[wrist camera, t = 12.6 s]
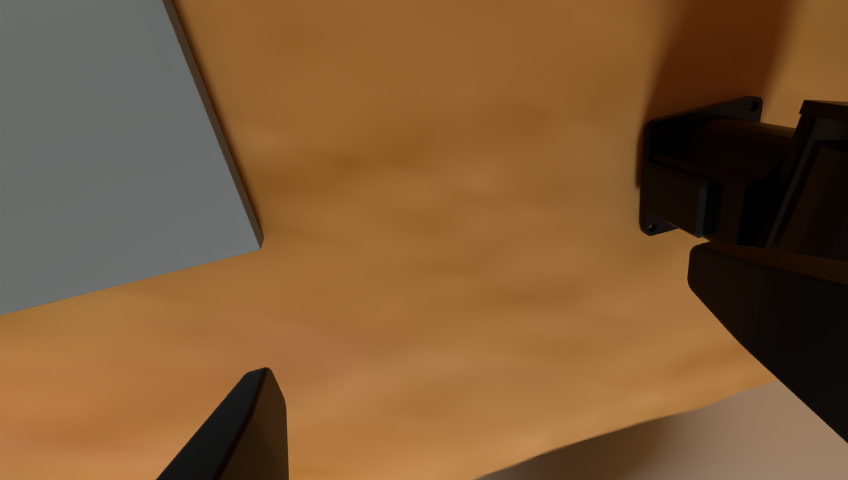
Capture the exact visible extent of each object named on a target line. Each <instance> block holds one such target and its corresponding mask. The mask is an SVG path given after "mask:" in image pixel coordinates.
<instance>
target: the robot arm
mask: <svg viewBox="0 0 848 480" xmlns="http://www.w3.org/2000/svg"><path fill="white" fill-rule="evenodd" d="M751 104H752V106H751ZM750 106H751V108H750ZM762 106H763V101H762V99H761V98H760V97H755V96H748V97H744V98H740V99H735V100H731V101H727V102H723V103H719V104H715V105H711V106H707V107H703V108H698V109H694V110H690V111H686V112H682V113H678V114H674V115H670V116H666V117H661V118H657V119H653V120H651V121H650V122H649V123H648V124H647V125H646V127H645V131H644V154H643V167H642V190H641V223H640V228H641V231H642V232H643V233H645V234H647V235H649V236H653V235H656V234H660V233H664V232H667V231H671V230H675V229H678V228H679V229H681V230H683V231H685V232H687V233H689V234H691V235H693V236H695V237H697V238H701V237H703V238H705V239H707V240H709V241H710V242H706V243H702V244H699V245H696V246H694V247H693V248H692V249H691V251H690V256H689V266H688V276H687V280H688V284H689V287H690V288H691V290H692V291H693V292H694V293H695V295H696V296H697V297H698V298H699V299H700V300H701V301H702V302H703V303H704V304H705V306H706V307H707V308H708V309H709V310H710V311H711V312H712V313H713V314H714V316H715V317H716V318H717V319H718V320H719V321H720V322H721V323H722V324H723V326H724V327H725V328H726V329H727V330H728V331H729V332H730V333H731V334H732V336H733V337H734V338H735V339H736V340H737V341H738V342H739V343H740V344H741V345H742V346H743V347H744V348H745V349H746V350H747V351H748V352H749V353H750V354H751V355H753V356H754V357H755V358H756V359H757V360H758V361H759V362H760V363H761V364H762V365H763V366H764V367H766V368H767V369H768V370H769V371H770V372H771V373H772V374H773V375H774V376H775V377H776V378H777V379H779V380H780V381H781V382H782V383H783V384H784V385H785V386H786V387H787V388H788V389H789V390H790V391H792V392H793V393H794V394H795V395H796V396H797V397H798V398H799V399H800V400H801V401H802V402H803V403H805V404H806V405H807V406H808V407H809V408H810V409H811V410H812V411H813V412H815V414H816V415H818V416H819V417H820V418H821V419H822V420H823V421H824V422H825V423H826V424H827V425H828V426H829V427H831V428H832V429H833V430H834V431H835V432H836V433H837V434H838V435H839V436H840V437H841V438H843V439H844V440H845V441H846V442H847V443H848V102H839V101H820V100H804V102H803V104H802V107H801V109H800V112H799V114H802V115H801V117H800V120H799V122H798V125H797V127H796V128H791V127H785V126H779V125H773V124H768V123H762V122H760V118H761V112H762ZM657 126H658V129H657V131H656V133H654V130H655V128H656V127H657ZM651 224H652V226H651V228H649V227H650V225H651ZM156 480H289V469H288V442H287V414H286V404H285V400H284V397H283V395H282V392H281V390H280V388H279V386H278V383H277V381H276V379H275V377H274V374H273V372H272V371H271V369H270V368H267V367H264V368H261V369H257V370H254V371H250V372H248V373H246V374H245V375H244V376H243V377H242V379H241V380H240V381H239V382H238V383H237V385H236V386H235V387H234V388H233V389H232V390H231V392H230V393H229V394H228V395H227V396H226V398H225V399H224V400H223V401H222V402H221V403H220V405H219V406H218V407H217V408H216V409H215V411H214V412H213V413H212V414H211V415H210V416H209V418H208V419H207V420H206V421H205V422H204V424H203V425H202V426H201V427H200V428H199V429H198V431H197V432H196V433H195V434H194V435H193V437H192V438H191V439H190V440H189V441H188V442H187V444H186V445H185V446H184V447H183V448H182V450H181V451H180V452H179V453H178V454H177V455H176V457H175V458H174V459H173V460H172V461H171V463H170V464H169V465H168V466H167V467H166V468H165V470H164V471H163V472H162V473H161V474H160V476H159V477H158V478H157V479H156Z"/></svg>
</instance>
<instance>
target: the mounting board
mask: <svg viewBox="0 0 848 480" xmlns="http://www.w3.org/2000/svg"><path fill="white" fill-rule="evenodd" d="M263 240H264V238H263V235H262V233H261V230H260V228H259V225H258V222H257V220H256V217H255V215H254V212H253V210H252V207H251V204H250V202H249V199H248V197H247V194H246V191H245V189H244V186H243V184H242V181H241V179H240V176H239V173H238V171H237V168H236V166H235V163H234V160H233V158H232V155H231V153H230V150H229V148H228V145H227V142H226V140H225V137H224V135H223V132H222V129H221V127H220V124H219V122H218V119H217V116H216V114H215V111H214V109H213V106H212V104H211V101H210V98H209V96H208V93H207V91H206V88H205V85H204V83H203V80H202V78H201V75H200V73H199V70H198V67H197V65H196V62H195V60H194V57H193V54H192V52H191V49H190V47H189V44H188V41H187V39H186V36H185V34H184V31H183V29H182V26H181V23H180V21H179V18H178V16H177V13H176V10H175V8H174V5H173V3H172V0H0V315H3V314H7V313H11V312H15V311H18V310H22V309H26V308H30V307H34V306H38V305H42V304H46V303H50V302H54V301H58V300H62V299H66V298H70V297H74V296H78V295H82V294H86V293H90V292H94V291H98V290H102V289H106V288H110V287H114V286H118V285H122V284H126V283H130V282H134V281H138V280H142V279H146V278H150V277H153V276H157V275H161V274H165V273H169V272H173V271H177V270H181V269H185V268H189V267H193V266H197V265H201V264H205V263H209V262H213V261H217V260H221V259H225V258H229V257H233V256H237V255H241V254H245V253H249V252H253V251H257V250H261V246H262V243H263Z"/></svg>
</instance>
